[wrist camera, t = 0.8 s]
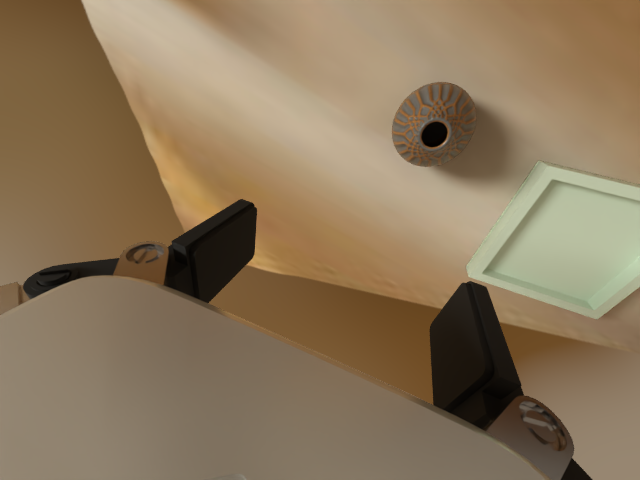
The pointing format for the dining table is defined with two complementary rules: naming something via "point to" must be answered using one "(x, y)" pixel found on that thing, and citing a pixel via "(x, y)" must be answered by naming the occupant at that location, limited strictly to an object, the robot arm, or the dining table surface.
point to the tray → (566, 241)
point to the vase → (434, 124)
